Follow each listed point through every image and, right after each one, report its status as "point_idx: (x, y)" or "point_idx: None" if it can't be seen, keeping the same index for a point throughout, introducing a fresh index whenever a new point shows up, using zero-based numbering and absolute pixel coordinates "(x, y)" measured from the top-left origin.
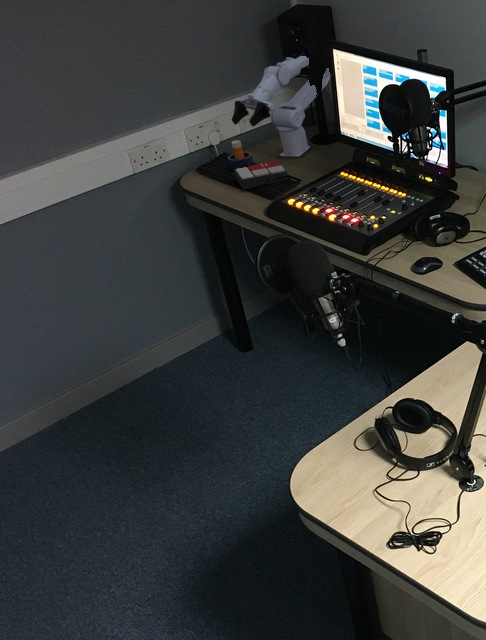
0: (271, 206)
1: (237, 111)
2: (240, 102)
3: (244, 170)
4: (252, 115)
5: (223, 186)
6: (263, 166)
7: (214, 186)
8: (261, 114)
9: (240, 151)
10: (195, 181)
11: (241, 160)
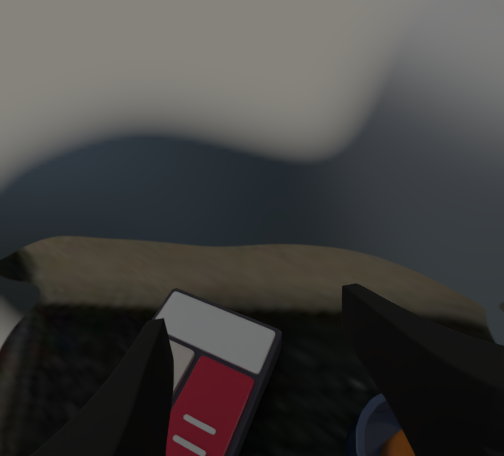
0: (21, 280)
1: (398, 339)
2: (492, 401)
3: (227, 340)
4: (149, 354)
5: (275, 296)
6: (185, 420)
7: (300, 283)
8: None
9: (402, 443)
10: (392, 277)
11: (357, 420)
